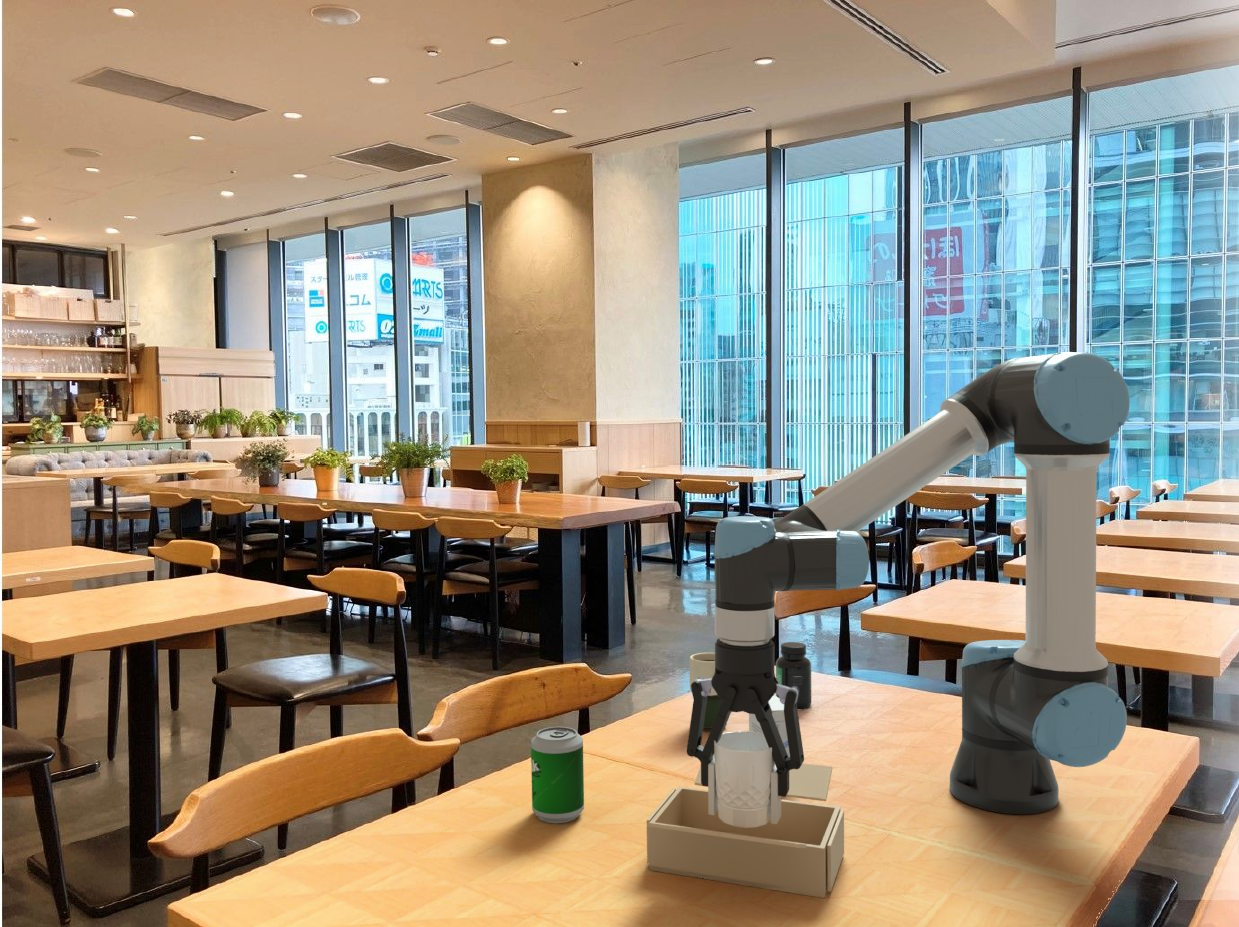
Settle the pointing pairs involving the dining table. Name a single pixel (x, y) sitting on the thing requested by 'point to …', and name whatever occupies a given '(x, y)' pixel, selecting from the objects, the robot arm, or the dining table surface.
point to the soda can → (557, 774)
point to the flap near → (727, 835)
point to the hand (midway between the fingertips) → (744, 814)
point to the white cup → (743, 778)
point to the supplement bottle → (795, 671)
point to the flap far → (803, 781)
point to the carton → (748, 845)
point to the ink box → (778, 718)
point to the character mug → (705, 669)
